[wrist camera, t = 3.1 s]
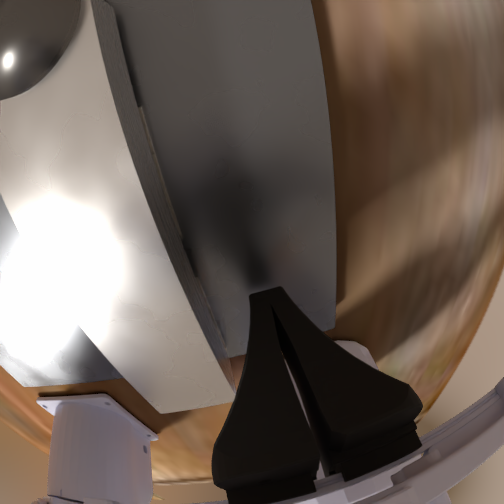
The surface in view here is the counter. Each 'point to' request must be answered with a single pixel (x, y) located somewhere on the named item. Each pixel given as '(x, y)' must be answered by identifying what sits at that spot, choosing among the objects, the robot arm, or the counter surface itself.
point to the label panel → (207, 176)
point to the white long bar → (101, 202)
